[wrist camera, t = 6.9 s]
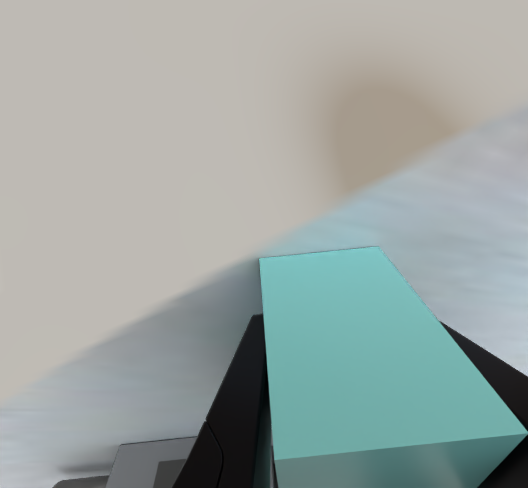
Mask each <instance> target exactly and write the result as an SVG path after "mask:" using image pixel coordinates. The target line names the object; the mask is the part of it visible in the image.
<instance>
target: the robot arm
mask: <svg viewBox="0 0 528 488" xmlns="http://www.w3.org/2000/svg"><path fill="white" fill-rule="evenodd" d="M438 321H439V320H438ZM439 322H440V323H441V325H442V326H443V327H444V328H445V330H446V331H447V332H448V333H449V335H450V336H451V337H452V338H453V340H454V341H455V342H456V343H457V344H458V346H459V347H460V348H461V349H462V351H463V352H464V353H465V354H466V356H467V357H468V358H469V359H470V361H471V362H472V363H473V364H474V366H475V367H476V368H477V369H478V371H479V372H480V373H481V374H482V376H483V377H484V378H485V379H486V381H487V382H488V383H489V384H490V386H491V387H492V388H493V389H494V390H495V392H496V393H497V394H498V395H499V397H500V398H501V399H502V400H503V402H504V403H505V404H506V405H507V407H508V408H509V409H510V410H511V412H512V413H513V414H514V415H515V417H516V418H517V419H518V420H519V422H520V423H521V424H522V425H523V427H524V428H525V429H526V430H527V431H528V376H526V375H524V374H523V373H521V372H520V371H518V370H516V369H515V368H513V367H512V366H510V365H509V364H507V363H505V362H504V361H502V360H501V359H499V358H497V357H496V356H494V355H493V354H491V353H490V352H488V351H486V350H485V349H483V348H482V347H480V346H478V345H477V344H475V343H474V342H472V341H471V340H469V339H467V338H466V337H464V336H463V335H461V334H460V333H458V332H456V331H455V330H453V329H452V328H450V327H448V326H447V325H445V324H444V323H442V322H441V321H439ZM270 464H271V409H270V395H269V382H268V369H267V356H266V342H265V329H264V316H263V314H256V315H253V316H252V317H251V319H250V321H249V324H248V326H247V328H246V330H245V333H244V335H243V337H242V339H241V341H240V344H239V346H238V348H237V350H236V352H235V355H234V357H233V359H232V361H231V364H230V366H229V368H228V370H227V372H226V375H225V377H224V379H223V381H222V383H221V386H220V388H219V390H218V392H217V395H216V397H215V399H214V401H213V403H212V406H211V408H210V410H209V412H208V414H207V417H206V421H205V422H204V423H203V425H202V427H201V430H200V432H199V434H198V436H197V438H196V440H195V443H194V445H193V447H192V449H191V451H190V453H189V455H188V457H187V459H186V461H185V463H184V465H183V467H182V469H181V470H180V472H179V474H178V476H177V478H176V480H175V481H174V483H173V485H172V487H171V488H270ZM477 488H528V435H527V436H526V437H525V438H524V439H523V440H522V441H521V442H520V443H519V444H518V445H517V446H516V447H515V448H514V449H513V450H512V451H511V452H510V453H509V454H508V456H507V457H506V458H505V459H504V460H503V461H502V462H501V463H500V464H499V465H498V466H497V467H496V468H495V469H494V470H493V471H492V472H491V473H490V474H489V475H488V477H487V478H486V479H485V480H484V481H483V482H482V483H481V484H480V485H479V486H478V487H477Z"/></svg>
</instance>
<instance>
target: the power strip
mask: <svg viewBox="0 0 528 488" xmlns="http://www.w3.org/2000/svg"><path fill="white" fill-rule="evenodd" d="M196 438H197V437H193V438H183V439H174V440H164V441H155V442H145V443H136V444H126V445H120V447H119V450H118V453H117V456H116V459H115V462H114V464H113V467H112V470H111V473H110V475H107V476H98V477H88V478H79V479H69V480H62V481H60V482H58V483H57V484H55V485H54V487H53V488H171V487H172V485H173V483H174V481H175V480H176V478H177V476H178V474H179V472H180V470H181V469H182V467H183V465H184V463H185V461H186V459H187V457H188V455H189V453H190V451H191V449H192V447H193V445H194V443H195V440H196ZM270 488H278V482H277V475H276V468H275V461H274V449H273V435H272V429H271V464H270Z"/></svg>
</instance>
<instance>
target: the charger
mask: <svg viewBox="0 0 528 488" xmlns="http://www.w3.org/2000/svg"><path fill="white" fill-rule="evenodd" d="M259 262H260V276H261V289H262V302H263V316H264V329H265V342H266V356H267V369H268V382H269V395H270V409H271V422H272V435H273V449H274V461H275V468H276V475H277V482H278V488H477V487H478V486H479V485H480V484H481V483H482V482H483V481H484V480H485V479H486V478H487V477H488V475H489V474H490V473H491V472H492V471H493V470H494V469H495V468H496V467H497V466H498V465H499V464H500V463H501V462H502V461H503V460H504V459H505V458H506V457H507V456H508V454H509V453H510V452H511V451H512V450H513V449H514V448H515V447H516V446H517V445H518V444H519V443H520V442H521V441H522V440H523V439H524V438H525V437H526V436H527V435H528V431H527V430H526V429H525V428H524V427H523V425H522V424H521V423H520V422H519V420H518V419H517V418H516V417H515V415H514V414H513V413H512V412H511V410H510V409H509V408H508V407H507V405H506V404H505V403H504V402H503V400H502V399H501V398H500V397H499V395H498V394H497V393H496V392H495V390H494V389H493V388H492V387H491V386H490V384H489V383H488V382H487V381H486V379H485V378H484V377H483V376H482V374H481V373H480V372H479V371H478V369H477V368H476V367H475V366H474V364H473V363H472V362H471V361H470V359H469V358H468V357H467V356H466V354H465V353H464V352H463V351H462V349H461V348H460V347H459V346H458V344H457V343H456V342H455V341H454V340H453V338H452V337H451V336H450V335H449V333H448V332H447V331H446V330H445V328H444V327H443V326H442V325H441V323H440V322H439V321H438V320H437V318H436V317H435V316H434V315H433V313H432V312H431V311H430V310H429V308H428V307H427V306H426V305H425V303H424V302H423V301H422V300H421V298H420V297H419V296H418V295H417V294H416V292H415V291H414V290H413V289H412V287H411V286H410V285H409V284H408V282H407V281H406V280H405V279H404V277H403V276H402V275H401V274H400V272H399V271H398V270H397V269H396V267H395V266H394V265H393V264H392V262H391V261H390V260H389V259H388V257H387V256H386V255H385V254H384V252H383V251H382V250H381V249H380V248H379V246H377V247H367V248H357V249H347V250H337V251H327V252H318V253H308V254H298V255H288V256H278V257H268V258H259Z"/></svg>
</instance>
